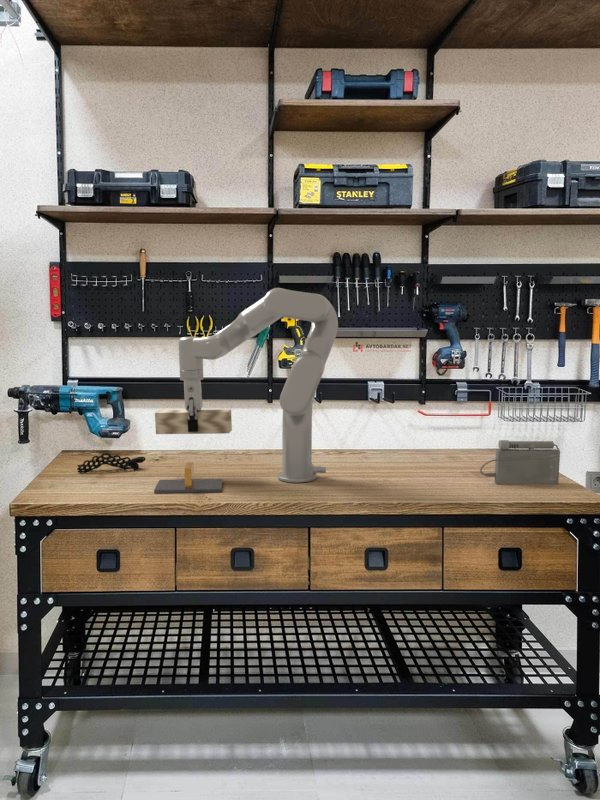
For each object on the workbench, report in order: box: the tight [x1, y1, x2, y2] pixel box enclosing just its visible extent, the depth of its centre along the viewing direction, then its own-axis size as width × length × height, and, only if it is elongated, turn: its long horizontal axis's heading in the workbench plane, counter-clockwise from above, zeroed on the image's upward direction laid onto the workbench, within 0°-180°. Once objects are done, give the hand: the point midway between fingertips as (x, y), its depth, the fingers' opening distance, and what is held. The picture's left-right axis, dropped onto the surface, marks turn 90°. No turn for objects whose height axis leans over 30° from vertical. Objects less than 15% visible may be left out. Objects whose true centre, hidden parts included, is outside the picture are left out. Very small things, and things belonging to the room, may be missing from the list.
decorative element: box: [76, 452, 146, 474], centre depth 232 cm, size 22×5×6 cm, turn 105°
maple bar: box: [154, 408, 233, 435], centre depth 222 cm, size 24×6×7 cm, turn 86°
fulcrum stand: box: [153, 461, 224, 494], centre depth 210 cm, size 20×12×7 cm, turn 94°
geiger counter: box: [479, 439, 561, 485], centre depth 215 cm, size 14×6×25 cm
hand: (194, 429), depth 222 cm, fingers closed on maple bar, 6 cm apart
